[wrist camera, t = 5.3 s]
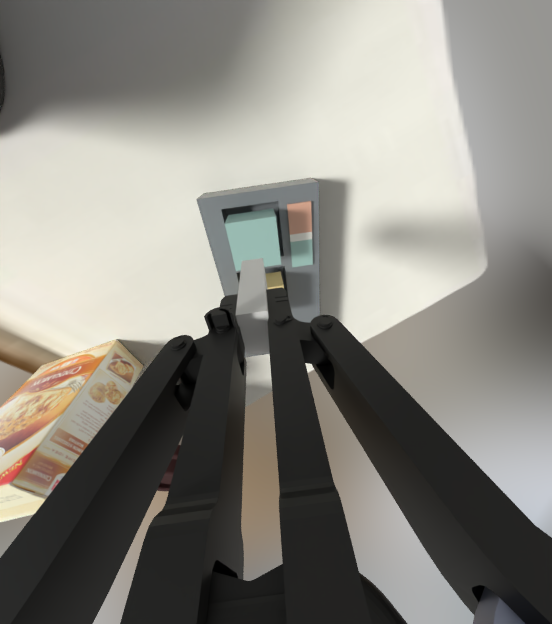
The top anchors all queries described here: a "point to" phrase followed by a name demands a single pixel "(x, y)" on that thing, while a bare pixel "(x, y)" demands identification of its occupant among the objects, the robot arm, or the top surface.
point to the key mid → (274, 280)
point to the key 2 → (253, 237)
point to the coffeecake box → (58, 421)
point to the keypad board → (291, 234)
